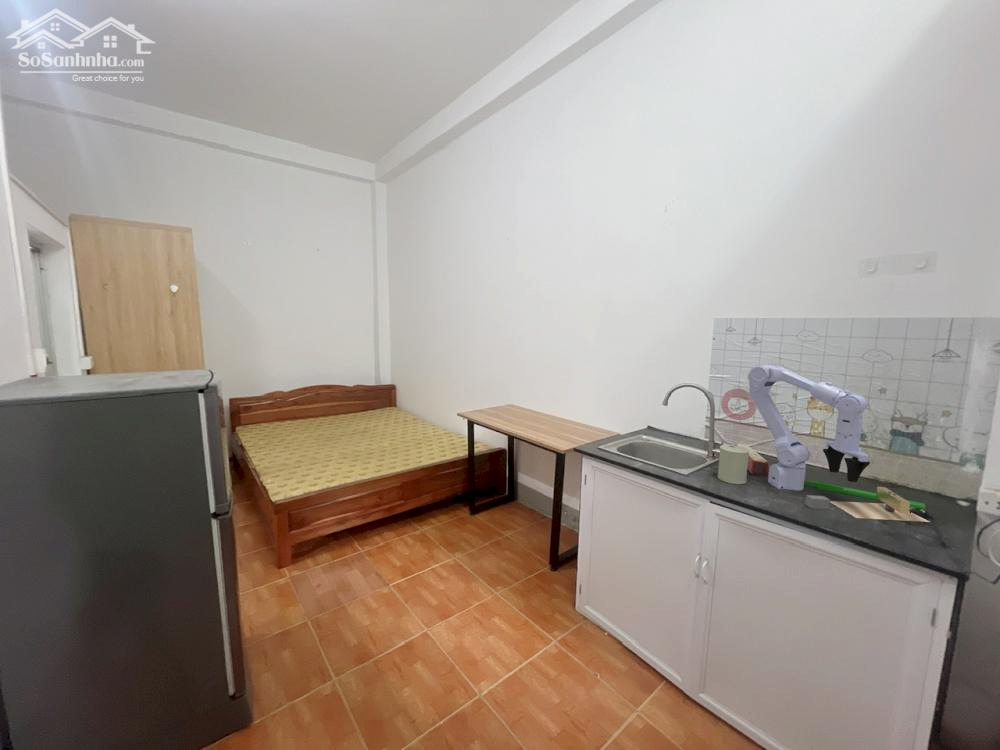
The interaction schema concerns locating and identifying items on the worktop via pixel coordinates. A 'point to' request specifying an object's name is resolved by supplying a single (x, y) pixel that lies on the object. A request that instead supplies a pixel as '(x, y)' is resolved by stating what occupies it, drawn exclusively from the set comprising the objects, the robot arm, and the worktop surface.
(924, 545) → the worktop surface
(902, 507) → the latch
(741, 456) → the can
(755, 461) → the snack package
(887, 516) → the board
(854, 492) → the green onion
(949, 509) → the worktop surface
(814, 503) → the cover
